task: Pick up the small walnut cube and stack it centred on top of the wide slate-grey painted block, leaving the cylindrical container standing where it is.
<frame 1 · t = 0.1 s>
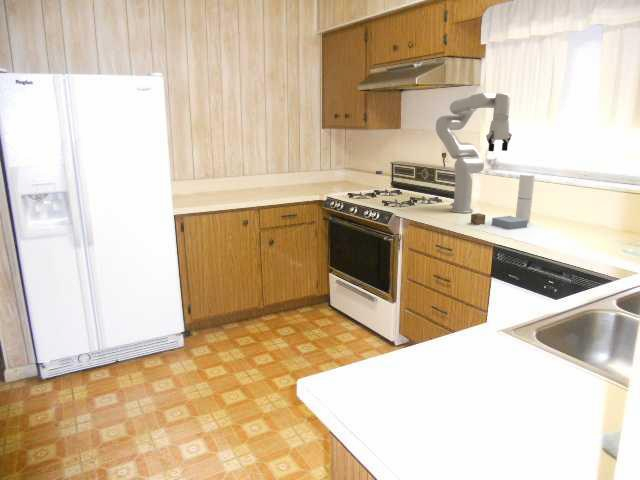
hand: (497, 150, 263), 37 cm above the countertop, tool pointing down, fingers open, 9 cm apart
cylindrical container: (522, 221, 266), on the countertop
walnut cube: (477, 223, 260), on the countertop
grey base block: (509, 226, 255), on the countertop
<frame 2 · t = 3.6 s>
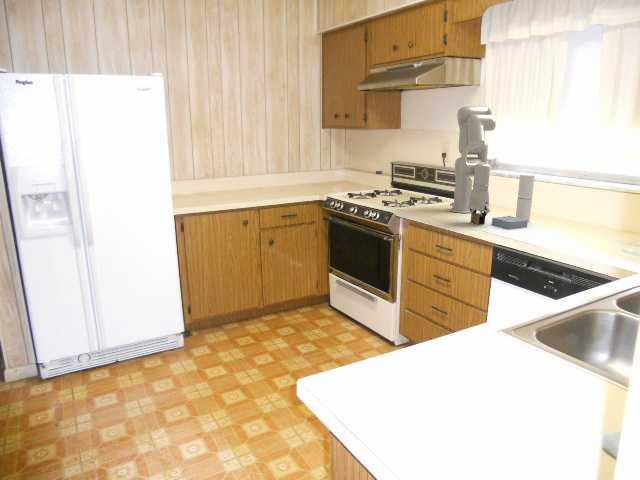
hand: (477, 222, 260), 1 cm above the countertop, tool pointing down, fingers closed on walnut cube, 5 cm apart
walnut cube: (477, 223, 260), on the countertop, touching gripper
everything else where it was.
when the fingers open (5 cm above the countertop, at t = 10.3 s): walnut cube stays where it is, resting on grey base block.
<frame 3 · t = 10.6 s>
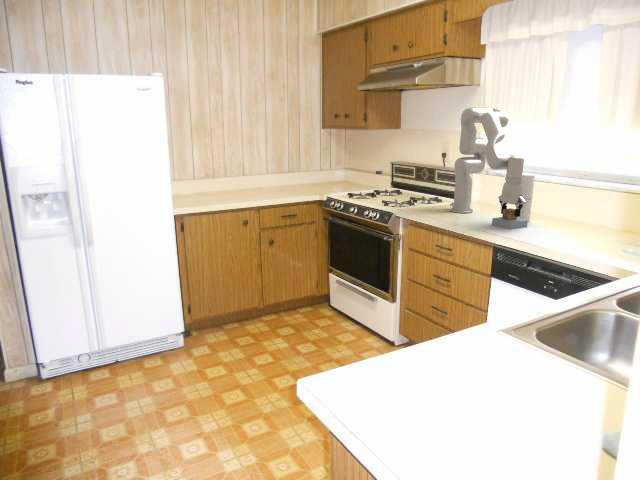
hand: (510, 214, 254), 6 cm above the countertop, tool pointing down, fingers open, 8 cm apart
walnut cube: (509, 219, 254), point 3 cm above the countertop, touching grey base block
grey base block: (509, 226, 255), on the countertop, touching walnut cube
everything else where it was.
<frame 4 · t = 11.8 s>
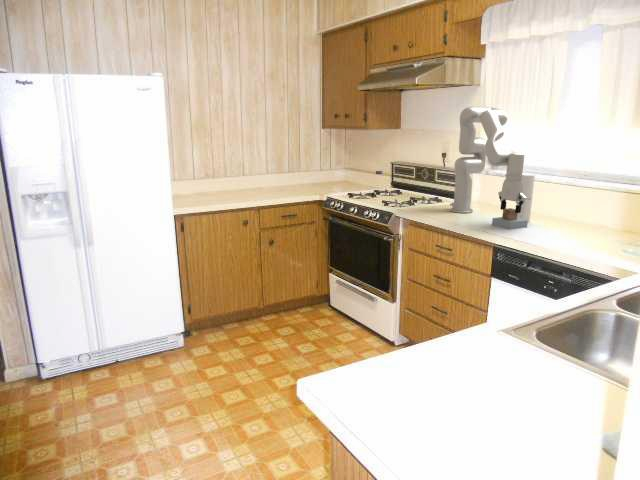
hand: (510, 211, 253), 8 cm above the countertop, tool pointing down, fingers open, 9 cm apart
walnut cube: (509, 219, 254), point 3 cm above the countertop
grey base block: (509, 226, 255), on the countertop
everything else where it was.
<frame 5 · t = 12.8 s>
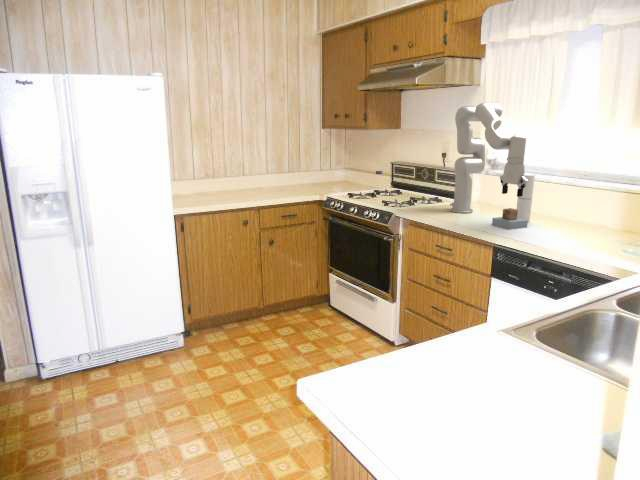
hand: (511, 194, 251), 16 cm above the countertop, tool pointing down, fingers open, 9 cm apart
walnut cube: (509, 219, 254), point 3 cm above the countertop, touching grey base block
grey base block: (509, 226, 255), on the countertop, touching walnut cube
everything else where it was.
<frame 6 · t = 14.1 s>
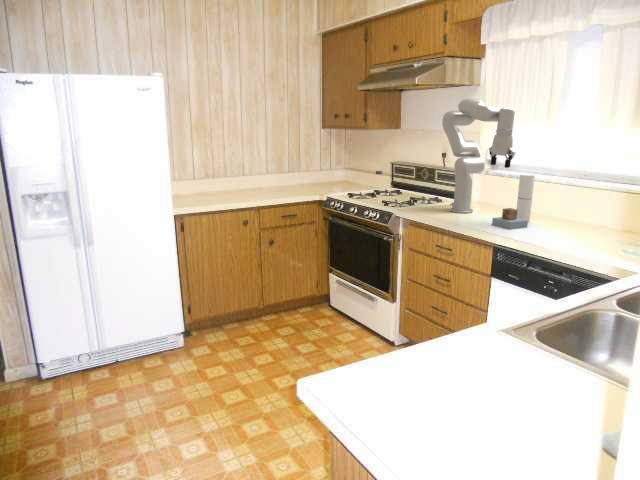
hand: (499, 166, 259), 29 cm above the countertop, tool pointing down, fingers open, 9 cm apart
walnut cube: (509, 218, 255), point 4 cm above the countertop
grey base block: (509, 226, 255), on the countertop
everything else where it was.
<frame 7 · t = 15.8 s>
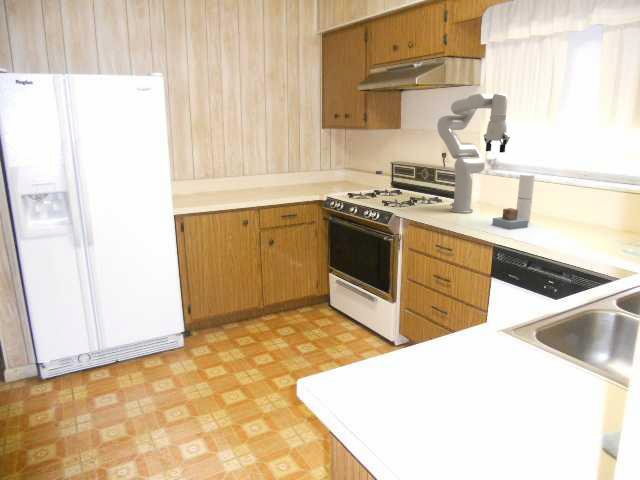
hand: (495, 151, 262), 36 cm above the countertop, tool pointing down, fingers open, 9 cm apart
nothing on the countertop moved.
at the end: walnut cube 0.4 cm off-centre on the grey base block, point 4.0 cm above the grey base block's base; walnut cube tilted 0°; the gripper is holding nothing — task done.
